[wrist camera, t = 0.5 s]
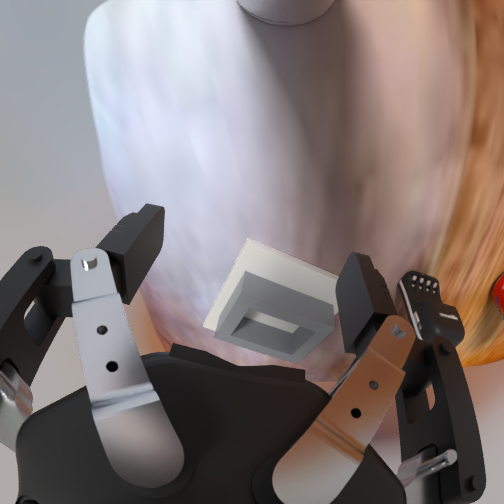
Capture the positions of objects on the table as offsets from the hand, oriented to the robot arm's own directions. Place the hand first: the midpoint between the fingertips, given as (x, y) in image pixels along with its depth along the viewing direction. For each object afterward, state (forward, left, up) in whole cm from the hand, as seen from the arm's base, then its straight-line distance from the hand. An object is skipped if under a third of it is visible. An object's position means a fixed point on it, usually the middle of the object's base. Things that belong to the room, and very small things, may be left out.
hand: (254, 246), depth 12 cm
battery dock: (+21, +10, -18) cm, 29 cm away
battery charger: (+7, +26, -18) cm, 33 cm away
